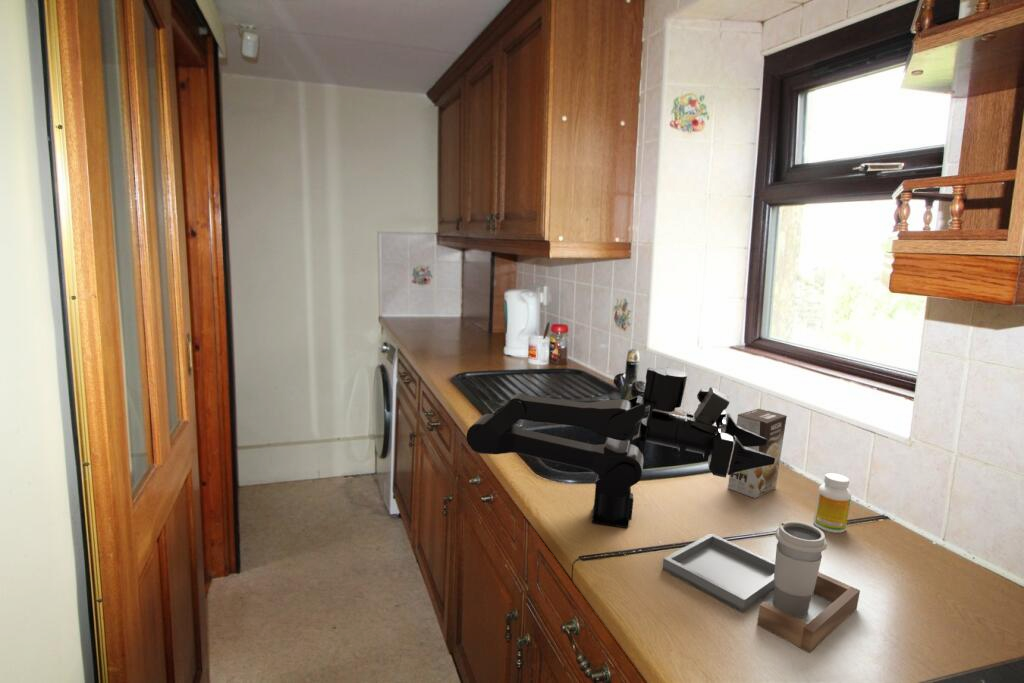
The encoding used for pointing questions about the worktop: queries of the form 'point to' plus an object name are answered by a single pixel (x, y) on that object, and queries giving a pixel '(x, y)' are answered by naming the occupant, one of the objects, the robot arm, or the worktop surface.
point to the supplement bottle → (833, 503)
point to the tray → (723, 571)
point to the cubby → (822, 624)
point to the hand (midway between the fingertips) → (770, 451)
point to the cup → (797, 566)
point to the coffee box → (771, 429)
